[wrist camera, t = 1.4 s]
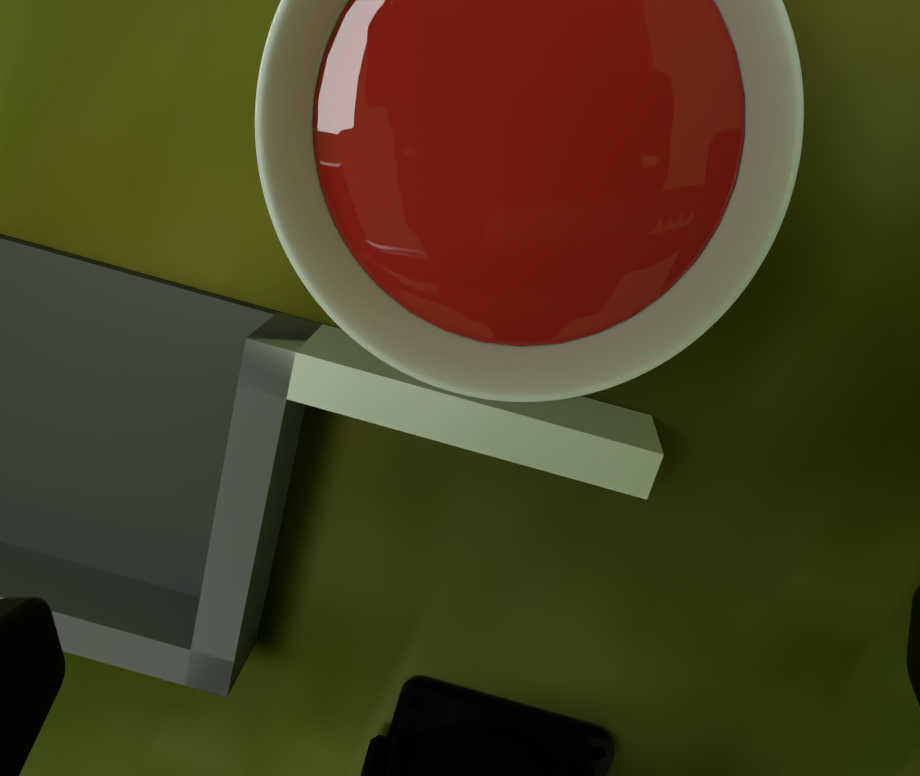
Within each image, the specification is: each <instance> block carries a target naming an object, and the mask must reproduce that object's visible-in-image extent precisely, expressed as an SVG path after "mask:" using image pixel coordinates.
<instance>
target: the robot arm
mask: <svg viewBox="0 0 920 776" xmlns="http://www.w3.org/2000/svg"><path fill="white" fill-rule="evenodd" d="M907 669H908V674H909V678H910V681H911V684H912V687H913V690H914V692H915V695H916V697H917V700H918V703H919V705H920V585H919V586H918V587H917V588H916V590H915V593H914V595H913V600H912V608H911V618H910V627H909V636H908V646H907ZM64 674H65V659H64V655H63V651H62V647H61V644H60V640H59V636H58V633H57V629H56V626H55V622H54V618H53V615H52V611H51V608H50V606H49V604H48V603H47V602H46V601H45V600H44V599H42V598H40V597H7V598H3V599H0V776H19V774H20V772H21V770H22V768H23V766H24V764H25V762H26V759H27V757H28V755H29V753H30V751H31V749H32V747H33V745H34V742H35V740H36V738H37V736H38V734H39V732H40V730H41V728H42V725H43V723H44V721H45V719H46V717H47V715H48V713H49V710H50V708H51V706H52V704H53V702H54V700H55V698H56V696H57V693H58V691H59V689H60V687H61V685H62V682H63V678H64ZM411 695H419V696H420V697H422V698H423V699H421V700H415V699H413V698H412V697H411ZM594 746H600V747H602V749H600V750H593V749H591V747H594ZM613 758H614V743H613V740H612V737H611V736H610V735H609V734H608V733H606V732H604V731H602V730H599V729H596V728H592V727H588V726H585V725H581V724H578V723H574V722H571V721H567V720H564V719H560V718H556V717H553V716H549V715H546V714H542V713H539V712H535V711H531V710H528V709H524V708H521V707H517V706H514V705H510V704H507V703H503V702H499V701H496V700H492V699H489V698H485V697H482V696H478V695H475V694H471V693H467V692H464V691H460V690H457V689H453V688H450V687H446V686H443V685H439V684H435V683H432V682H428V681H425V680H421V679H412V680H409V681H407V682H406V683H404V685H403V686H402V688H401V692H400V695H399V699H398V702H397V705H396V709H395V712H394V716H393V719H392V723H391V726H390V730H389V733H388V737H385V736H381V735H378V736H376V737H375V738H373V739H371V740H370V744H369V747H368V751H367V754H366V758H365V762H364V765H363V769H362V772H361V776H606V775H607V772H608V770H609V768H610V765H611V763H612V760H613Z"/></svg>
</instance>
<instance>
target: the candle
mask: <svg viewBox="0 0 920 776" xmlns="http://www.w3.org/2000/svg"><path fill="white" fill-rule="evenodd" d="M803 127H804V95H803V82H802V72H801V66H800V59H799V54H798V49H797V44H796V41H795V37H794V33H793V29H792V26H791V23H790V20H789V16H788V14H787V11H786V8H785V6H784V3H783V0H281V1H280V4H279V6H278V8H277V11H276V13H275V16H274V19H273V21H272V24H271V27H270V30H269V33H268V36H267V40H266V43H265V47H264V51H263V55H262V60H261V64H260V70H259V76H258V83H257V91H256V103H255V142H256V154H257V162H258V169H259V175H260V180H261V185H262V189H263V193H264V197H265V201H266V204H267V208H268V211H269V214H270V217H271V220H272V223H273V226H274V228H275V231H276V233H277V236H278V238H279V240H280V242H281V245H282V247H283V249H284V251H285V253H286V255H287V257H288V259H289V261H290V262H291V264H292V266H293V268H294V269H295V271H296V273H297V274H298V276H299V277H300V279H301V281H302V282H303V284H304V285H305V287H306V288H307V289H308V291H309V292H310V294H311V295H312V296H313V297H314V299H315V300H316V301H317V303H318V304H319V305H320V306H321V307H322V309H323V310H324V311H325V312H326V313H327V314H328V315H329V316H330V318H331V319H332V320H333V321H334V322H335V323H336V324H337V325H338V326H339V327H340V328H341V329H342V330H343V331H344V332H346V333H347V334H348V335H349V336H350V337H351V338H352V339H353V340H355V341H356V342H357V343H358V344H360V345H361V346H362V347H363V348H365V349H366V350H367V351H369V352H370V353H372V354H373V355H374V356H376V357H377V358H379V359H380V360H382V361H384V362H385V363H387V364H388V365H390V366H392V367H393V368H395V369H397V370H399V371H401V372H403V373H405V374H407V375H409V376H411V377H413V378H415V379H417V380H419V381H422V382H424V383H427V384H429V385H432V386H434V387H437V388H440V389H443V390H446V391H450V392H453V393H457V394H461V395H465V396H470V397H475V398H480V399H487V400H495V401H505V402H542V401H553V400H561V399H567V398H573V397H578V396H583V395H587V394H591V393H595V392H598V391H602V390H605V389H608V388H611V387H614V386H616V385H619V384H622V383H624V382H627V381H629V380H631V379H634V378H636V377H638V376H640V375H642V374H644V373H646V372H648V371H650V370H652V369H654V368H655V367H657V366H659V365H661V364H662V363H664V362H666V361H667V360H669V359H671V358H672V357H674V356H675V355H676V354H678V353H679V352H681V351H682V350H684V349H685V348H686V347H688V346H689V345H690V344H692V343H693V342H694V341H695V340H697V339H698V338H699V337H700V336H701V335H703V334H704V333H705V332H706V331H707V330H708V329H709V328H710V327H711V326H712V325H713V324H714V323H715V322H717V321H718V320H719V319H720V318H721V316H722V315H723V314H724V313H725V312H726V311H727V310H728V309H729V308H730V307H731V306H732V304H733V303H734V302H735V301H736V300H737V298H738V297H739V296H740V295H741V293H742V292H743V291H744V289H745V288H746V287H747V285H748V284H749V283H750V281H751V280H752V278H753V277H754V275H755V274H756V272H757V271H758V269H759V267H760V266H761V264H762V263H763V261H764V259H765V257H766V256H767V254H768V252H769V250H770V248H771V246H772V244H773V242H774V240H775V238H776V236H777V234H778V231H779V229H780V227H781V224H782V222H783V219H784V217H785V214H786V211H787V208H788V205H789V203H790V199H791V196H792V193H793V189H794V185H795V181H796V177H797V173H798V167H799V162H800V156H801V149H802V140H803Z"/></svg>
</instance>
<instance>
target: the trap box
mask: <svg viewBox="0 0 920 776" xmlns="http://www.w3.org/2000/svg"><path fill="white" fill-rule="evenodd" d="M306 405H309V406H313V407H317V408H320V409H324V410H327V411H331V412H335V413H338V414H342V415H345V416H349V417H352V418H356V419H360V420H363V421H367V422H370V423H374V424H378V425H381V426H385V427H388V428H392V429H395V430H399V431H403V432H406V433H410V434H413V435H417V436H421V437H424V438H428V439H431V440H435V441H438V442H442V443H446V444H449V445H453V446H456V447H460V448H464V449H467V450H471V451H474V452H478V453H481V454H485V455H489V456H492V457H496V458H499V459H503V460H507V461H510V462H514V463H517V464H521V465H524V466H528V467H532V468H535V469H539V470H542V471H546V472H550V473H553V474H557V475H560V476H564V477H567V478H571V479H575V480H578V481H582V482H585V483H589V484H593V485H596V486H600V487H603V488H607V489H610V490H614V491H618V492H621V493H625V494H628V495H632V496H636V497H639V498H643V499H646V500H647V498H648V495H649V493H650V490H651V488H652V485H653V482H654V480H655V477H656V474H657V472H658V469H659V466H660V464H661V461H662V458H663V456H664V454H663V450H662V447H661V444H660V441H659V438H658V434H657V431H656V428H655V425H654V421H653V418H652V416H651V415H648V414H644V413H640V412H637V411H633V410H630V409H626V408H622V407H619V406H615V405H612V404H608V403H605V402H601V401H597V400H594V399H590V398H587V397H583V396H578V397H573V398H567V399H561V400H553V401H542V402H505V401H495V400H487V399H480V398H475V397H470V396H465V395H461V394H457V393H453V392H450V391H446V390H443V389H440V388H437V387H434V386H432V385H429V384H427V383H424V382H422V381H419V380H417V379H415V378H413V377H411V376H409V375H407V374H405V373H403V372H401V371H399V370H397V369H395V368H393V367H392V366H390V365H388V364H387V363H385V362H384V361H382V360H380V359H379V358H377V357H376V356H374V355H373V354H372V353H370V352H369V351H367V350H366V349H365V348H363V347H362V346H361V345H360V344H358V343H357V342H356V341H355V340H353V339H352V338H351V337H350V336H349V335H348V334H347V333H346V332H344V331H343V330H342V329H339V328H335V327H331V326H328V325H324V324H321V323H317V322H313V321H310V320H306V319H303V318H299V317H296V316H292V315H288V314H285V313H281V312H278V311H274V310H270V309H267V308H263V307H260V306H256V305H252V304H249V303H245V302H242V301H238V300H234V299H231V298H227V297H224V296H220V295H216V294H213V293H209V292H206V291H202V290H199V289H195V288H191V287H188V286H184V285H181V284H177V283H173V282H170V281H166V280H163V279H159V278H155V277H152V276H148V275H145V274H141V273H137V272H134V271H130V270H127V269H123V268H119V267H116V266H112V265H109V264H105V263H102V262H98V261H94V260H91V259H87V258H84V257H80V256H76V255H73V254H69V253H66V252H62V251H58V250H55V249H51V248H48V247H44V246H40V245H37V244H33V243H30V242H26V241H22V240H19V239H15V238H12V237H8V236H5V235H1V234H0V599H3V598H7V597H40V598H42V599H44V600H45V601H46V602H47V603H48V604H49V606H50V608H51V611H52V615H53V618H54V622H55V626H56V629H57V633H58V636H59V640H60V644H61V647H62V651H64V652H67V653H71V654H75V655H78V656H82V657H85V658H89V659H92V660H96V661H99V662H103V663H107V664H110V665H114V666H117V667H121V668H124V669H128V670H131V671H135V672H138V673H142V674H146V675H149V676H153V677H156V678H160V679H163V680H167V681H170V682H174V683H178V684H181V685H185V686H188V687H192V688H195V689H199V690H202V691H206V692H210V693H213V694H217V695H220V696H224V697H227V696H228V694H229V692H230V691H231V689H232V687H233V685H234V683H235V681H236V679H237V677H238V675H239V673H240V672H241V670H242V668H243V666H244V664H245V662H246V660H247V658H248V656H249V655H250V653H251V651H252V649H253V647H254V645H255V643H256V641H257V636H258V632H259V627H260V622H261V617H262V613H263V608H264V603H265V598H266V593H267V589H268V584H269V579H270V574H271V569H272V565H273V560H274V555H275V550H276V546H277V541H278V536H279V531H280V526H281V522H282V517H283V512H284V507H285V502H286V498H287V493H288V488H289V483H290V479H291V474H292V469H293V464H294V459H295V455H296V450H297V445H298V440H299V435H300V431H301V426H302V421H303V416H304V412H305V407H306Z"/></svg>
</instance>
